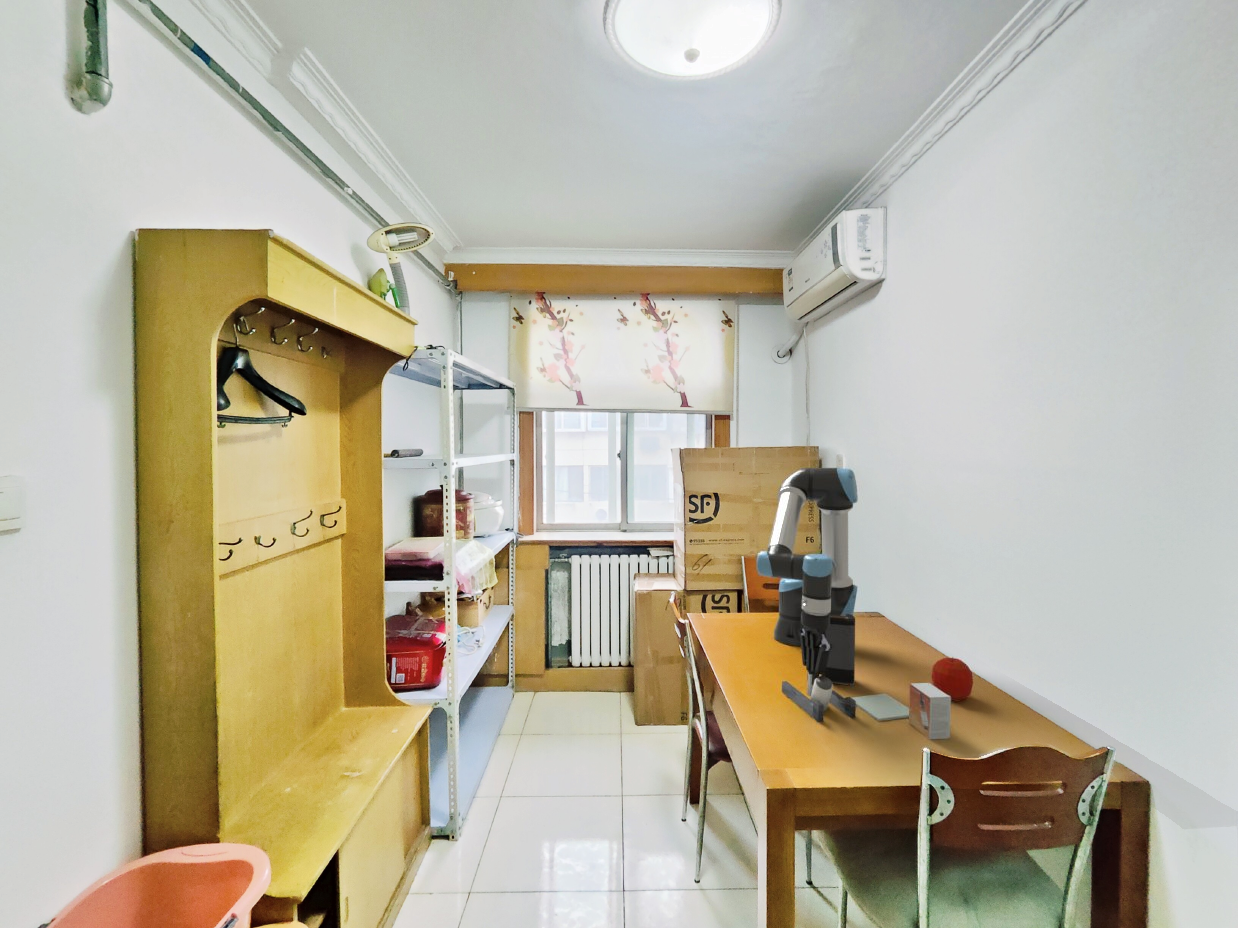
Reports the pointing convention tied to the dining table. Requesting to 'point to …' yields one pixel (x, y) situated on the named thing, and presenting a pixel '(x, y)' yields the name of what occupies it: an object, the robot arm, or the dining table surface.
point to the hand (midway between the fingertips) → (812, 695)
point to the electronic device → (841, 650)
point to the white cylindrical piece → (822, 691)
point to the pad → (882, 707)
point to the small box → (930, 710)
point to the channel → (819, 703)
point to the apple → (952, 678)
